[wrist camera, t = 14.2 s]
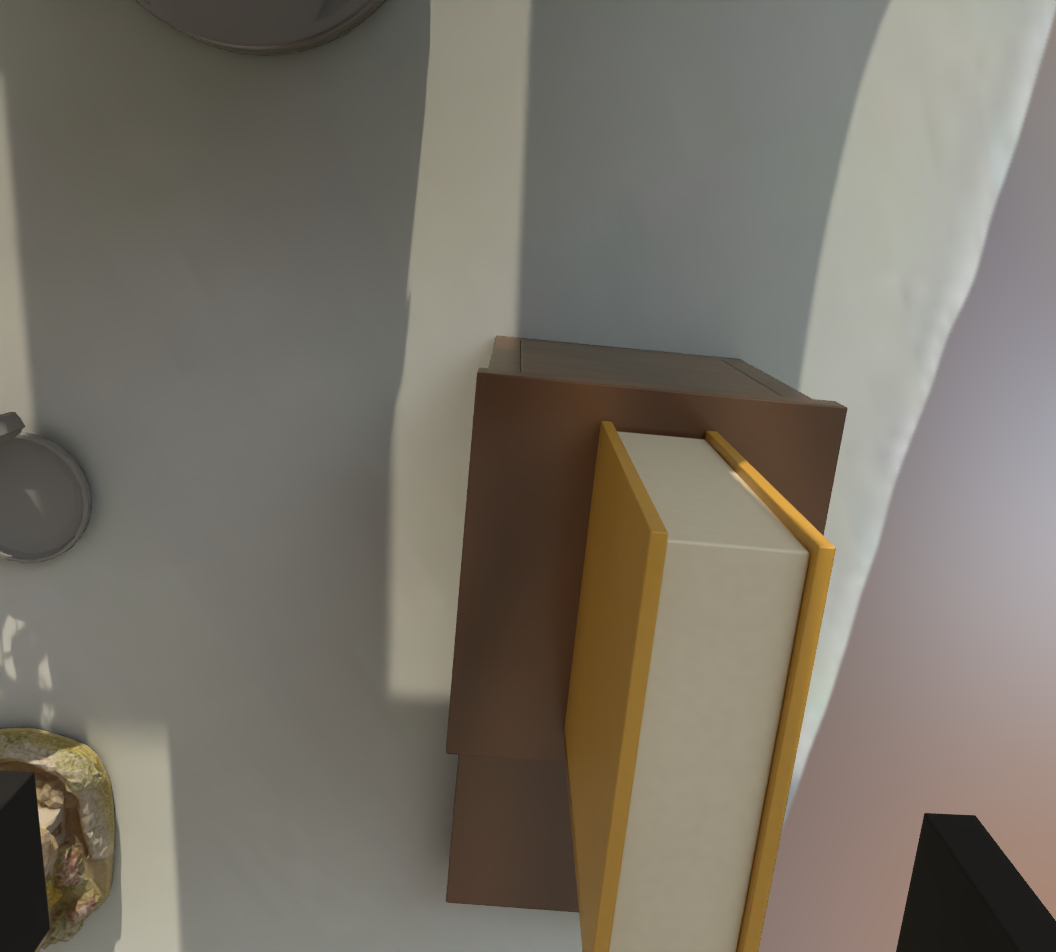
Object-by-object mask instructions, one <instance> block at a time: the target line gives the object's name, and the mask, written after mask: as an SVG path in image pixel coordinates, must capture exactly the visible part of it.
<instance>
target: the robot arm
mask: <svg viewBox="0 0 1056 952" xmlns="http://www.w3.org/2000/svg"><path fill="white" fill-rule="evenodd" d="M136 1H137V2H138V3H139V4H140V5H142V6H143V7H144V8H146V9H147V10H148V11H150V12H151V13H152V14H154V15H155V16H157V17H158V18H160V19H162V20H163V21H165V22H166V23H168V24H170V25H171V26H173V27H175V28H176V29H178V30H179V31H181V32H183V33H185V34H187V35H189V36H191V37H193V38H195V39H197V40H199V41H201V42H204V43H207V44H209V45H212V46H215V47H218V48H221V49H225V50H229V51H233V52H239V53H245V54H256V55H277V54H287V53H293V52H300V51H303V50H307V49H310V48H314V47H317V46H320V45H322V44H325V43H327V42H330V41H332V40H334V39H336V38H338V37H340V36H341V35H343V34H345V33H347V32H348V31H350V30H351V29H353V28H354V27H356V26H357V25H359V24H360V23H361V22H363V21H364V20H365V19H366V18H367V17H369V16H370V15H371V14H372V13H373V12H374V11H375V10H376V9H377V8H378V7H379V6H380V5H381V4H382V3H383V2H384V1H385V0H136ZM49 929H50V922H49V912H48V902H47V892H46V882H45V873H44V863H43V853H42V843H41V833H40V823H39V813H38V803H37V793H36V784H35V774H34V772H24V771H3V770H0V952H35V950H36V949H37V947H38V946H39V944H40V943H41V941H42V940H43V938H44V937H45V935H46V934H47V932H48V931H49ZM896 952H1056V921H1055V919H1054V918H1053V917H1052V916H1051V914H1050V913H1049V911H1048V910H1047V909H1046V907H1045V906H1044V905H1043V904H1042V902H1041V901H1040V900H1039V898H1038V897H1037V896H1036V895H1035V893H1034V892H1033V891H1032V889H1031V888H1030V887H1029V885H1028V884H1027V883H1026V881H1025V880H1024V879H1023V877H1022V876H1021V875H1020V873H1019V872H1018V871H1017V870H1016V868H1015V867H1014V866H1013V864H1012V863H1011V862H1010V860H1009V859H1008V858H1007V856H1006V855H1005V854H1004V853H1003V851H1002V850H1001V849H1000V847H999V846H998V845H997V843H996V842H995V841H994V839H993V838H992V837H991V835H990V834H989V833H988V832H987V830H986V829H985V828H984V826H983V825H982V824H981V822H980V821H979V820H978V818H977V817H976V816H973V815H952V814H931V813H925V814H924V819H923V823H922V828H921V833H920V838H919V843H918V848H917V852H916V857H915V862H914V867H913V873H912V877H911V882H910V887H909V891H908V897H907V901H906V906H905V911H904V916H903V921H902V926H901V931H900V936H899V940H898V945H897V950H896Z"/></svg>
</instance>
